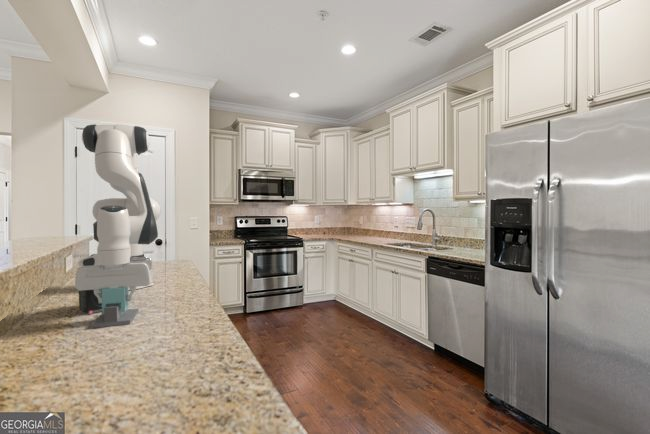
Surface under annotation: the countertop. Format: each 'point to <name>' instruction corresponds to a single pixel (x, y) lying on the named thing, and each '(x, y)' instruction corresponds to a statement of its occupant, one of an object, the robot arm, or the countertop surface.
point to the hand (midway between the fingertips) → (115, 301)
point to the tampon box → (89, 302)
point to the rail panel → (114, 316)
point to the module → (115, 297)
